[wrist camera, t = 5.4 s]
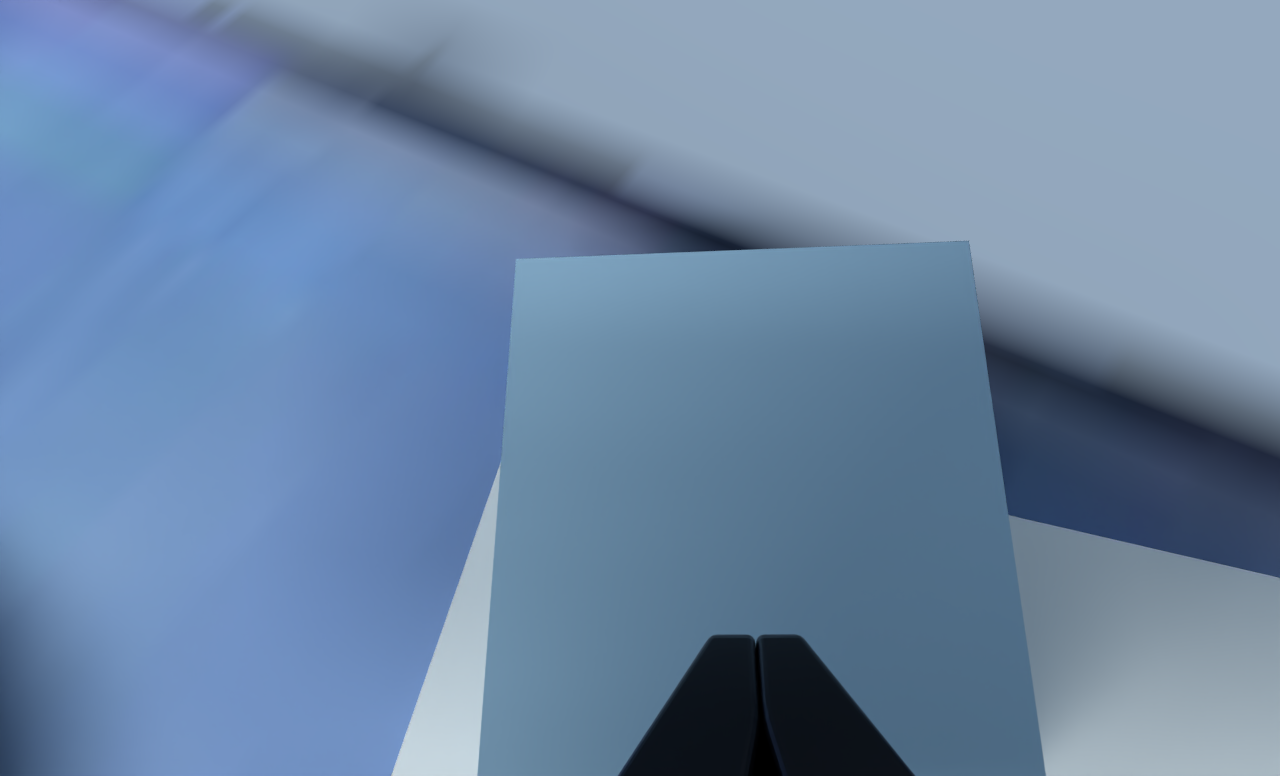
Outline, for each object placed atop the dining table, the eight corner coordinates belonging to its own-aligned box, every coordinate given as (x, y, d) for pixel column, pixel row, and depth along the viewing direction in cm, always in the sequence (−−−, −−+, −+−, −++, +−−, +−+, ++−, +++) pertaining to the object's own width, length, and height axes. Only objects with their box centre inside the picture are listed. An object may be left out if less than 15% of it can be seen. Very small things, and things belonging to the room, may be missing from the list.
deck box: (1052, 820, 11) (968, 241, 14) (474, 810, 12) (516, 259, 15) (990, 814, 14) (932, 329, 17) (525, 806, 15) (550, 341, 18)
